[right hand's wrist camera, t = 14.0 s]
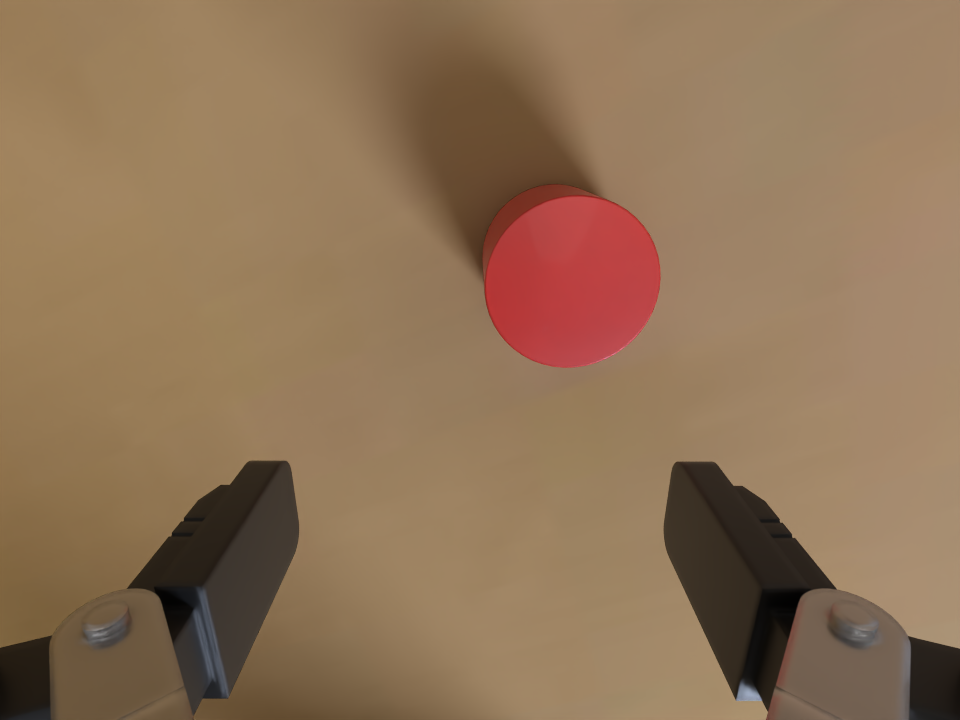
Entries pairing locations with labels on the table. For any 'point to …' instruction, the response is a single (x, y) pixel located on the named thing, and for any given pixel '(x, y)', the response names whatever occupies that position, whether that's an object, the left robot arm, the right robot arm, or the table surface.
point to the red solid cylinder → (568, 275)
